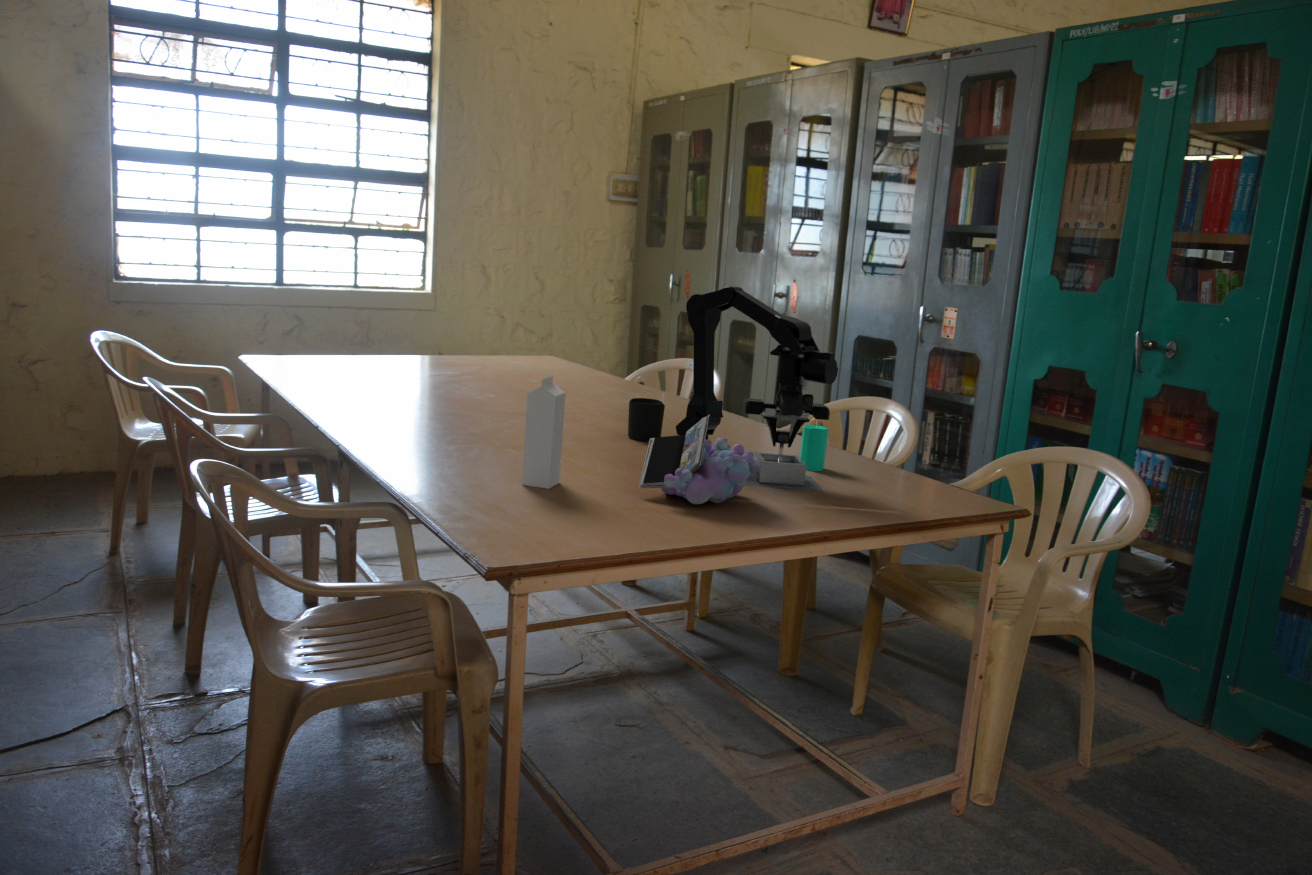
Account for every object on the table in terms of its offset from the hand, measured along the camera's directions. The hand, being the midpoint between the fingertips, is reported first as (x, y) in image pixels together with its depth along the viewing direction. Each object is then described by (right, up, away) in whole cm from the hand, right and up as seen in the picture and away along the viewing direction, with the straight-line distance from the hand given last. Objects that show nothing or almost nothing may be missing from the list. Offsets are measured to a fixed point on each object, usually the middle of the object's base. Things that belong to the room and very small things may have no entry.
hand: (781, 446), depth 212 cm
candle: (+10, -6, +18) cm, 21 cm away
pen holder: (-31, +2, +38) cm, 49 cm away
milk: (-52, -8, -19) cm, 56 cm away
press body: (-2, -7, +1) cm, 8 cm away
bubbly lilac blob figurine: (-20, -11, -20) cm, 30 cm away
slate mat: (-1, -8, +2) cm, 8 cm away
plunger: (0, -5, +1) cm, 5 cm away
